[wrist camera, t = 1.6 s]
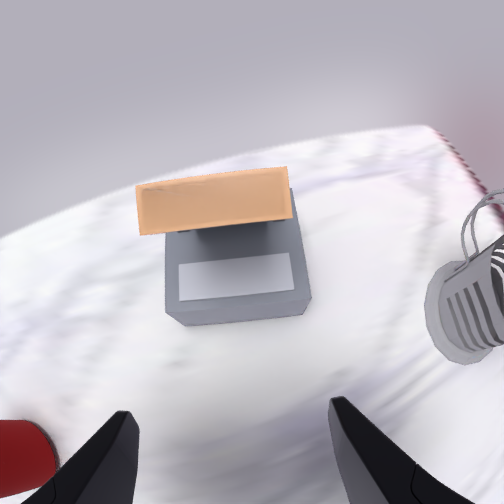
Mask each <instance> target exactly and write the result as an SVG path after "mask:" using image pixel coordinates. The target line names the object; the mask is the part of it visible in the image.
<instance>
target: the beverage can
mask: <svg viewBox="0 0 504 504" xmlns="http://www.w3.org/2000/svg"><path fill="white" fill-rule="evenodd" d="M55 471H56V464H55V458H54V454H53V451H52V449H51V446H50V444H49V442H48V441H47V439H46V438H45V436H44V435H43V433H42V432H41V431H40V430H39V429H38V428H37V427H36V426H35V425H33V424H32V423H30V422H28V421H25V420H0V498H4V497H8V496H12V495H15V494H19V493H22V492H26V491H29V490H32V489H35V488H38V487H41V486H43V485H44V484H45V483H46V482H47V481H48V480H49V479H50V478H51V477H53V475H54V474H55Z"/></svg>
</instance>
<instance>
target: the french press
mask: <svg viewBox="0 0 504 504" xmlns="http://www.w3.org/2000/svg"><path fill="white" fill-rule="evenodd" d="M501 193H504V189H499V190H495V191H492V192H490V193H488V194H487V195H486V196H485V197H484V198H483V199H482V200H481V201H480V202H479V203H478V204H477V205H476V206H475V208H474V209H473V210H472V211H471V212H470V214H469V215H468V216H467V218H466V220H465V221H464V223H463V227H462V232H461V241H462V248H463V252H464V255H465V258H466V260H465V261H451V262H449V263H448V264H446V265H444V266H443V267H441V268H439V269H438V270H437V271H436V273H435V275H434V276H433V278H432V279H431V281H430V283H429V284H428V288H427V293H426V298H425V303H424V308H425V316H426V326H427V329H428V331H429V333H430V336H431V338H432V340H433V342H434V345H435V347H436V348H437V349H438V350H439V351H440V352H441V353H442V354H443V355H444V356H445V357H446V358H447V359H448V360H449V361H453V362H456V363H459V364H462V365H468V364H472V363H476V362H480V361H481V360H482V359H483V358H484V357H485V356H486V355H487V354H489V353H490V352H491V351H492V349H493V347H496V346H500V345H503V344H504V292H503V282H502V277H501V276H500V274H499V272H498V271H497V269H495V268H494V267H492V266H491V263H493V264H495V265H497V266H499V267H500V268H501V269H502V271H503V273H504V263H502V262H500V261H498V260H496V259H494V258H491V255H492V256H499V257H501V258H502V259H504V253H501V252H493V251H495V250H496V249H503V250H504V245H502V244H504V235H503V236H501V237H500V238H499V239H498V240H496V241H495V242H494V243H492V244H491V245H490V246H489V247H487V248H486V249H485V250H483V251H482V252H481V253H479V254H478V252H479V250H478V246H477V242H476V238H475V234H474V220H475V216H476V213H477V211H478V209H479V208H481V207H484V206H486V205H489V204H492V203H498V204H504V200H499V199H495V200H490V201H487V202H485V201H486V200H487V198H489V197H492V196H494V195H496V194H501ZM472 215H473V216H472ZM471 216H472V220H471V223H470V224H471V235H472V238H473V241H474V245H475V248H476V253H474V254H473V255H472V256H470V257H469V258H468V255H467V251H466V248H465V243H464V232H465V228H466V225H467V223H468V221H469V219H470V217H471ZM476 255H477V256H476ZM472 258H473V259H472Z"/></svg>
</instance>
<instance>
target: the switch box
mask: <svg viewBox="0 0 504 504" xmlns="http://www.w3.org/2000/svg"><path fill="white" fill-rule="evenodd" d="M290 197H291V206H292V215H293V218H290V219H283V220H273V221H264V222H254V223H245V224H236V225H227V226H218V227H209V228H201V229H192V230H184V231H176V232H168V233H166V237H165V313H167V314H168V315H170V316H171V317H173V318H174V319H175V320H177V321H178V322H180V323H181V324H183V325H184V326H195V325H208V324H220V323H231V322H242V321H252V320H261V319H270V318H279V317H287V316H295V315H302V314H303V312H304V311H305V309H306V307H307V305H308V304H309V302H310V300H311V298H312V297H311V291H310V285H309V279H308V273H307V267H306V261H305V255H304V250H303V244H302V239H301V233H300V228H299V223H298V217H297V212H296V207H295V202H294V197H293V192H292V188H290Z"/></svg>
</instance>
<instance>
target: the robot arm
mask: <svg viewBox="0 0 504 504" xmlns="http://www.w3.org/2000/svg"><path fill="white" fill-rule="evenodd" d="M328 420H329V426H330V431H331V436H332V441H333V447H334V452H335V457H336V461H337V465H338V468H339V471H340V474H341V477H342V480H343V483H344V486H345V489H346V492H347V495H348V498H349V501H350V504H475V503H473V502H471V501H470V500H468V499H466V498H465V497H463V496H461V495H460V494H458V493H456V492H455V491H453V490H451V489H450V488H448V487H447V486H445V485H444V484H442V483H441V482H439V481H438V480H437V479H435V478H434V477H433V476H432V475H430V474H429V473H428V472H427V471H425V470H424V469H423V468H422V467H421V466H420V465H419V464H416V462H415V461H414V460H413V459H412V458H410V457H409V456H408V455H407V454H406V453H405V452H404V451H403V450H401V449H400V448H399V447H398V446H397V445H396V444H395V443H394V442H393V441H391V440H390V439H389V438H388V437H387V436H386V435H385V434H384V433H383V432H382V431H381V430H379V429H378V428H377V427H376V426H375V425H374V424H373V423H372V422H371V421H370V420H369V419H368V418H366V417H365V416H364V415H363V414H362V413H361V412H360V411H359V410H358V409H357V408H356V407H355V406H354V405H353V404H351V403H350V402H349V401H348V400H347V399H346V398H345V397H344V396H339V397H334V398H331V399H330V401H329V410H328ZM139 433H140V431H139V426H138V424H137V422H136V421H135V419H134V417H133V416H132V414H131V413H130V412H129V411H117V412H116V413H115V414H114V415H113V416H112V417H111V418H110V419H109V420H108V421H107V422H106V423H105V424H104V425H103V426H102V427H101V428H100V429H99V430H98V431H97V432H96V433H95V434H94V435H93V436H92V437H91V438H90V439H89V440H88V441H87V442H86V443H85V444H84V445H83V446H82V447H81V448H80V449H79V450H78V451H77V452H76V453H75V454H74V455H73V456H72V457H71V458H70V459H69V460H68V461H67V462H66V463H65V464H64V465H63V466H62V467H61V468H60V469H59V470H58V471H57V472H56V473H55V474H54V475H53V477H51V478H50V479H49V480H48V481H47V482H46V483H45V484H44V485H43V486H42V487H41V488H39V489H38V490H37V491H36V492H35V493H34V494H32V495H31V496H30V497H29V498H28V499H26V500H25V501H24V502H22V503H21V504H132V503H133V496H134V489H135V483H136V477H137V469H138V450H139Z"/></svg>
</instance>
